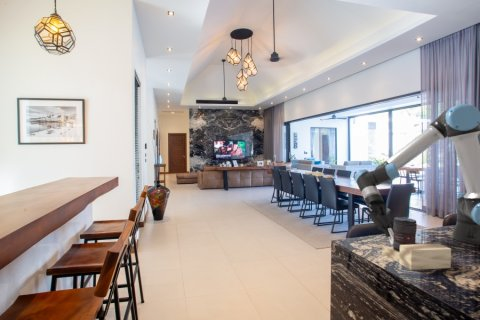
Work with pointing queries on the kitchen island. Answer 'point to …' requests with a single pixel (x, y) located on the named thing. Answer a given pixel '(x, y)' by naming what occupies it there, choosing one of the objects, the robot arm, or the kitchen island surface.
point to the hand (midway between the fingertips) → (394, 243)
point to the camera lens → (404, 232)
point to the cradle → (421, 256)
